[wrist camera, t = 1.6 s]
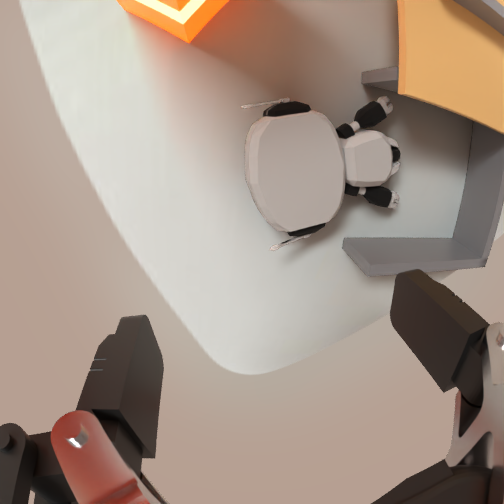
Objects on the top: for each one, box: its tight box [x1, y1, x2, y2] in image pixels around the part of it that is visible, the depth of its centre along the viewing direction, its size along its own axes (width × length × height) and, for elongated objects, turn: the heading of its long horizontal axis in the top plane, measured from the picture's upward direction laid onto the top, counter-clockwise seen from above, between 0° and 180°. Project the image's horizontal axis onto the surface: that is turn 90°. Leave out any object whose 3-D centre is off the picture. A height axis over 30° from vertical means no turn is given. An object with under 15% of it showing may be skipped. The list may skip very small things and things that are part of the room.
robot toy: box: [241, 96, 400, 251], centre depth 25 cm, size 12×4×15 cm
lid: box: [397, 0, 504, 135], centre depth 14 cm, size 18×18×4 cm
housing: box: [342, 66, 504, 276], centre depth 25 cm, size 18×18×6 cm
